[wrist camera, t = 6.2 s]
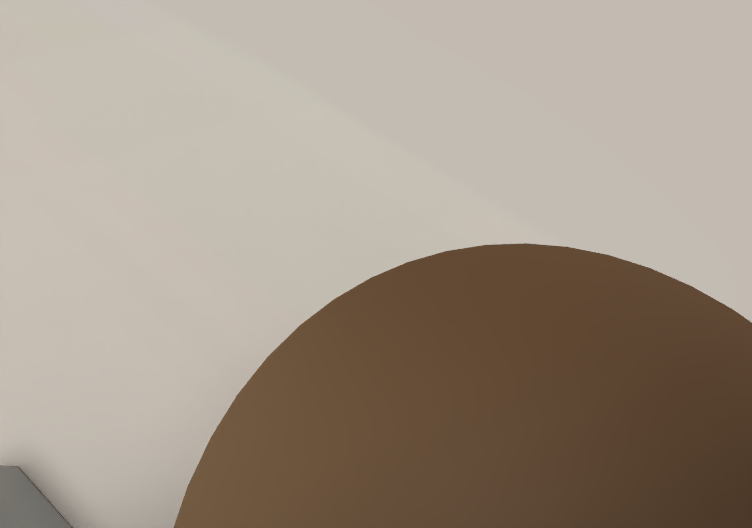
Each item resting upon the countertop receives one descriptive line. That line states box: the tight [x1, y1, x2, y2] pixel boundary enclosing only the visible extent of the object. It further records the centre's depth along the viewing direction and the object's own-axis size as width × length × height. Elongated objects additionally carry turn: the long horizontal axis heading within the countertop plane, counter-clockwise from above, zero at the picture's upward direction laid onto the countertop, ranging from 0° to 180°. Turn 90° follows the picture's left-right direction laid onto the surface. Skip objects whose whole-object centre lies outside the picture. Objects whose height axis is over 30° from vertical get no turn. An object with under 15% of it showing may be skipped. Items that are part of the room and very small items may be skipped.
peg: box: [174, 244, 752, 528], centre depth 8 cm, size 4×4×12 cm
